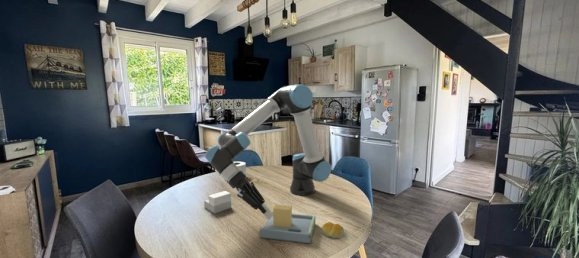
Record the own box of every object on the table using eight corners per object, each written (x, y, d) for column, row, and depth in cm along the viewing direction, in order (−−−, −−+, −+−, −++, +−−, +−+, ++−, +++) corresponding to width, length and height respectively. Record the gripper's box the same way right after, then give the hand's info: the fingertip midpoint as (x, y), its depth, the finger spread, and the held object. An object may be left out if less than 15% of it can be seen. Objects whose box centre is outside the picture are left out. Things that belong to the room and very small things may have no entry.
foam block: (221, 203, 133) (220, 188, 132) (231, 208, 125) (230, 193, 125) (204, 208, 126) (203, 193, 125) (214, 214, 119) (213, 198, 118)
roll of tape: (228, 174, 184) (228, 161, 183) (248, 175, 183) (248, 161, 181) (220, 181, 169) (220, 166, 168) (242, 181, 167) (242, 166, 166)
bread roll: (326, 226, 105) (326, 217, 105) (346, 232, 101) (346, 222, 100) (317, 235, 99) (317, 225, 98) (338, 241, 94) (339, 231, 93)
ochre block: (273, 225, 101) (273, 208, 100) (276, 221, 105) (275, 204, 104) (289, 227, 99) (289, 209, 99) (291, 222, 103) (291, 205, 103)
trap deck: (260, 238, 96) (260, 227, 96) (272, 219, 112) (271, 210, 111) (310, 244, 92) (310, 232, 91) (315, 223, 107) (315, 214, 107)
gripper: (235, 177, 112) (270, 215, 110) (221, 186, 99) (260, 230, 97) (245, 166, 110) (281, 205, 108) (232, 174, 97) (272, 218, 95)
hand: (271, 217), depth 102 cm, fingers closed
